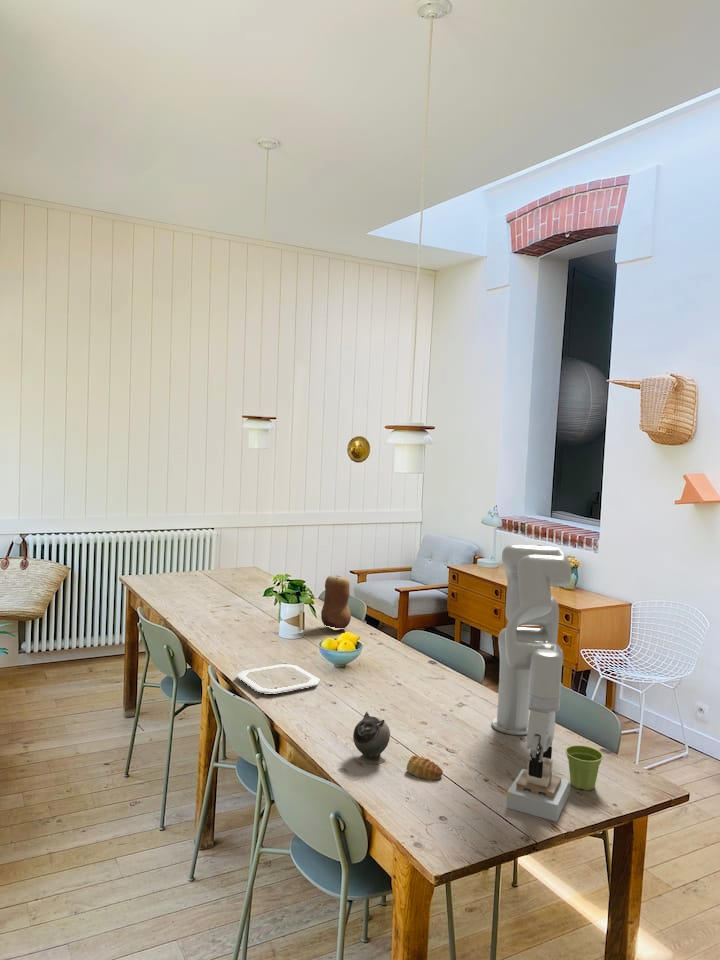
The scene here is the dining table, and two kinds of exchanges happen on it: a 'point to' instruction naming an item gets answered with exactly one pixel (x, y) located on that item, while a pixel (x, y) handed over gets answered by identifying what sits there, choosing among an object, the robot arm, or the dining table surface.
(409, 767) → the pastry
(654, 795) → the dining table surface
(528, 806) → the dock
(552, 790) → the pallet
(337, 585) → the butternut squash
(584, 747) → the plant pot
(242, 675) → the white square frame
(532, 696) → the robot arm
